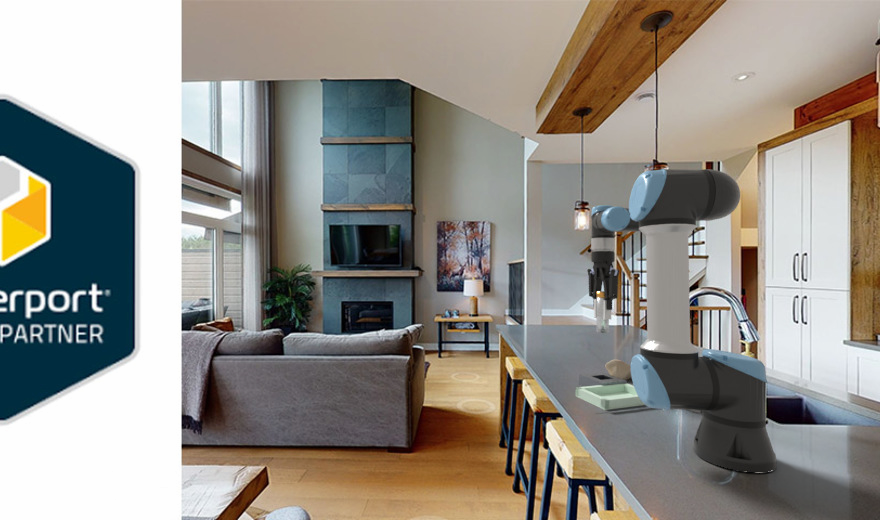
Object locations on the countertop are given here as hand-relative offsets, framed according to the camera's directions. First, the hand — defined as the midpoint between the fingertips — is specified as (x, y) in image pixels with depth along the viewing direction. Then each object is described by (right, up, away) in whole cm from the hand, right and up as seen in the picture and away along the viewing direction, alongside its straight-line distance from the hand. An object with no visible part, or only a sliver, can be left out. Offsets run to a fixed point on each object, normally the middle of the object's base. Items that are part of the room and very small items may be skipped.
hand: (602, 318), depth 146 cm
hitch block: (0, -24, 0) cm, 24 cm away
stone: (+11, -25, +12) cm, 30 cm away
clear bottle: (0, -5, 0) cm, 5 cm away
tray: (-1, -24, -13) cm, 28 cm away
